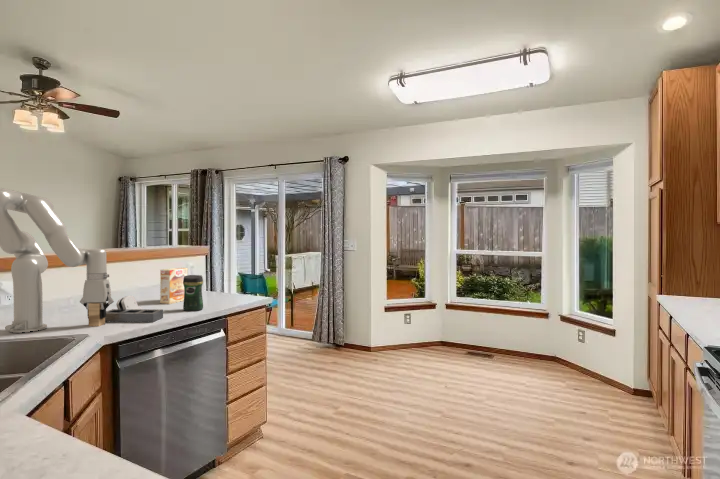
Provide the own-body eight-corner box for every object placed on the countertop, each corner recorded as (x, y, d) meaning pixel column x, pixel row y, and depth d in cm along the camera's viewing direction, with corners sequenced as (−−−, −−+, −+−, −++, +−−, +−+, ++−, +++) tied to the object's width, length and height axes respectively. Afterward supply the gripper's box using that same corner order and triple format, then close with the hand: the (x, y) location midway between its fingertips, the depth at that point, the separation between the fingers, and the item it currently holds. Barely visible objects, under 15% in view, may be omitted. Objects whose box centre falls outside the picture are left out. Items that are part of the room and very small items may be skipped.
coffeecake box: (169, 304, 238) (169, 270, 237) (159, 303, 240) (159, 269, 240) (188, 300, 252) (188, 267, 252) (178, 299, 254) (178, 267, 254)
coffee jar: (205, 308, 226) (205, 274, 226) (199, 311, 218) (199, 276, 218) (187, 308, 227) (187, 274, 226) (180, 311, 219) (180, 275, 218)
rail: (153, 322, 192) (153, 313, 192) (100, 322, 192) (100, 313, 192) (163, 317, 202) (163, 309, 202) (112, 317, 202) (112, 309, 202)
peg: (99, 326, 184) (98, 303, 183) (88, 326, 184) (88, 303, 183) (105, 324, 188) (104, 301, 188) (94, 323, 188) (94, 301, 188)
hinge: (131, 316, 204) (123, 297, 203) (121, 320, 203) (113, 301, 202) (142, 310, 220) (135, 292, 219) (133, 313, 219) (126, 295, 218)
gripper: (120, 276, 189) (120, 316, 190) (82, 275, 189) (82, 316, 189) (111, 278, 182) (111, 319, 182) (71, 277, 181) (71, 319, 182)
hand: (96, 317), depth 186 cm, fingers closed on peg, 4 cm apart
